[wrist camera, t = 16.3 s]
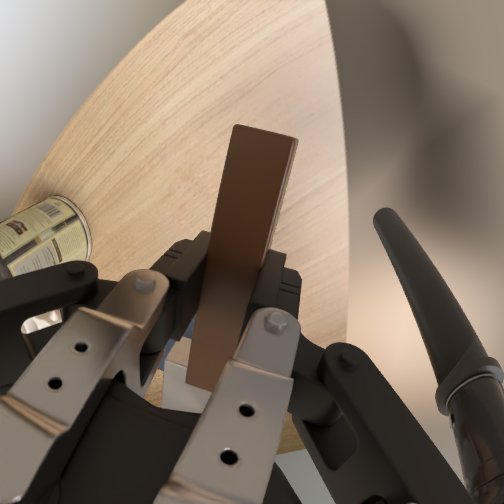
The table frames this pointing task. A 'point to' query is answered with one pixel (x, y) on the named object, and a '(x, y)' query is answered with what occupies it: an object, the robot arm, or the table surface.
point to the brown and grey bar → (230, 262)
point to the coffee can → (43, 237)
